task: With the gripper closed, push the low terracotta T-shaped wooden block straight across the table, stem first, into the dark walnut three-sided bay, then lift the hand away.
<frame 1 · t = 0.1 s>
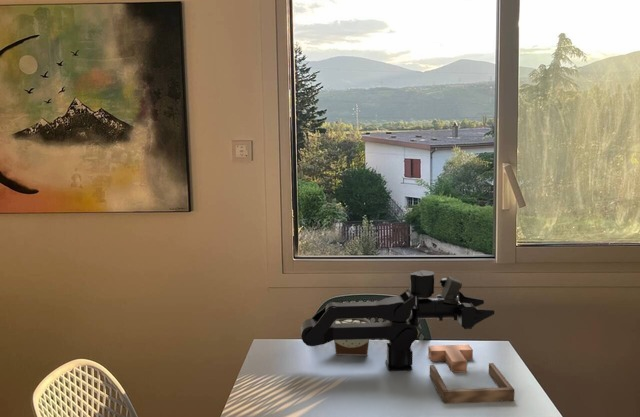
hand: (488, 306, 172), 17 cm above the table, tool horizontal, fingers open, 9 cm apart
terracotta T block: (453, 363, 175), on the table
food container: (352, 351, 184), on the table
walnut bay: (468, 385, 160), on the table
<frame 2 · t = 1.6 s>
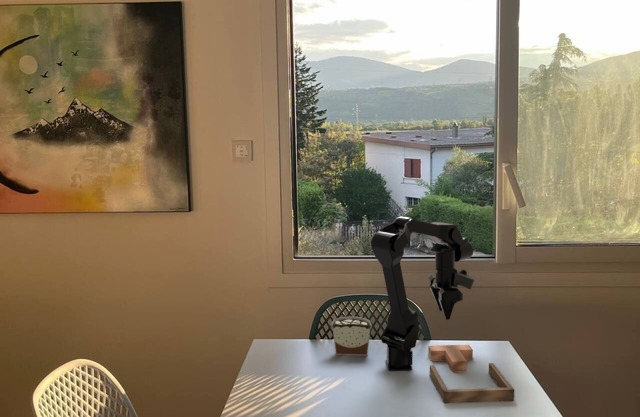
hand: (444, 315, 185), 10 cm above the table, tool pointing down, fingers open, 8 cm apart
nothing on the table moved.
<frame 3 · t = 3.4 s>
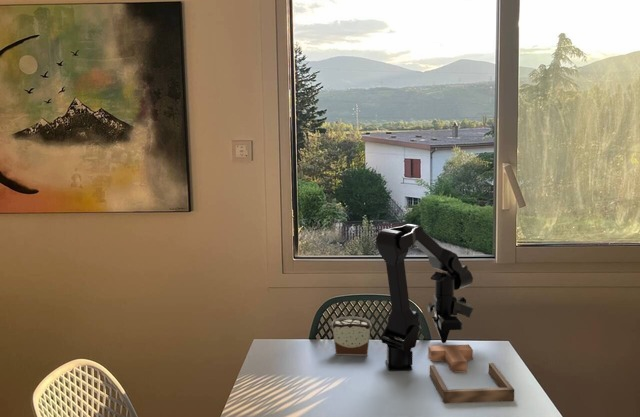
hand: (443, 342, 186), 1 cm above the table, tool pointing down, fingers closed
nothing on the table moved.
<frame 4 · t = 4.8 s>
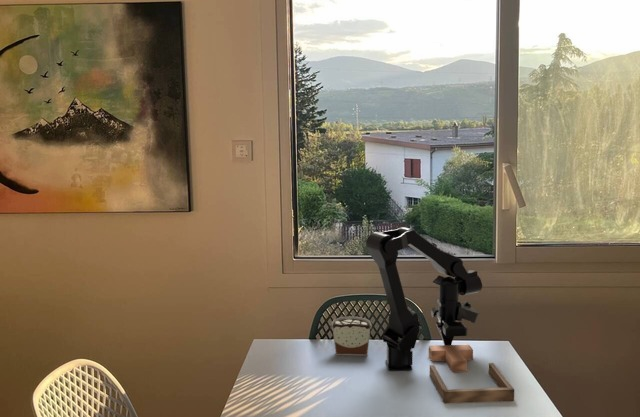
hand: (447, 348, 181), 2 cm above the table, tool pointing down, fingers closed
terracotta T block: (453, 362, 174), on the table, touching gripper
everything else where it was.
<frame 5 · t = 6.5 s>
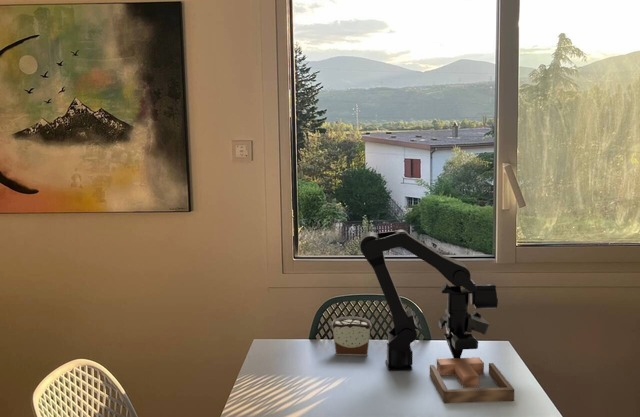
hand: (456, 361, 172), 2 cm above the table, tool pointing down, fingers closed
terracotta T block: (464, 377, 165), on the table, touching gripper
everything else where it was.
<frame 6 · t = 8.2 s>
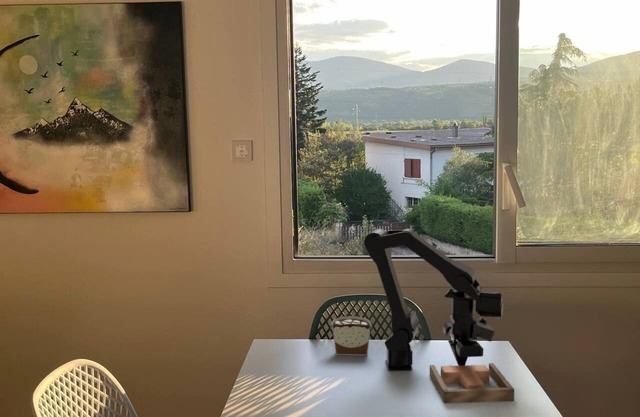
hand: (461, 369, 167), 2 cm above the table, tool pointing down, fingers closed
terracotta T block: (469, 385, 160), on the table, touching gripper
everything else where it was.
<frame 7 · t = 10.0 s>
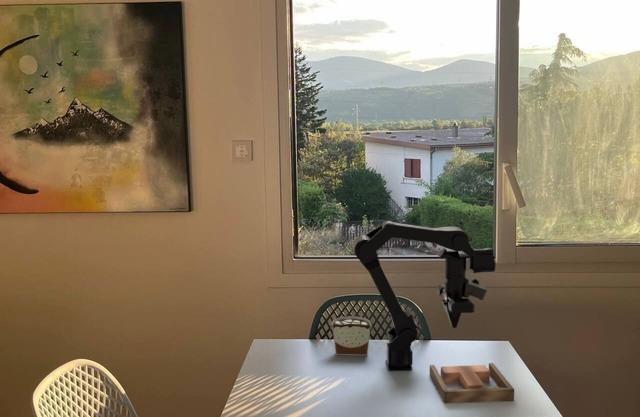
hand: (454, 327, 171), 11 cm above the table, tool pointing down, fingers closed
terracotta T block: (469, 386, 160), on the table
everything else where it was.
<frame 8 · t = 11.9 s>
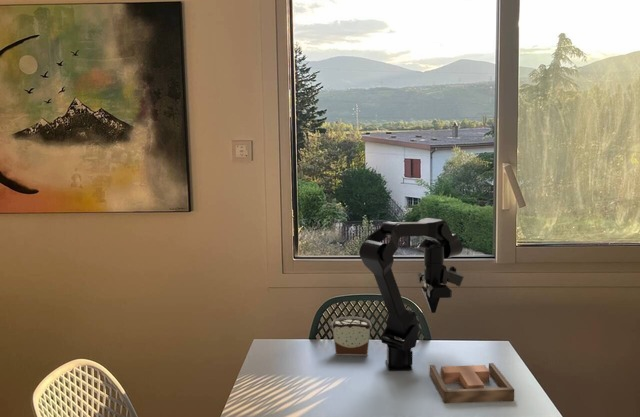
hand: (433, 312, 181), 12 cm above the table, tool pointing down, fingers closed
nothing on the table moved.
at the end: terracotta T block 1.0 cm from the target spot on the walnut bay, point 0.0 cm above the walnut bay's base; terracotta T block tilted 0°; terracotta T block moved 15.0 cm from its start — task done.
